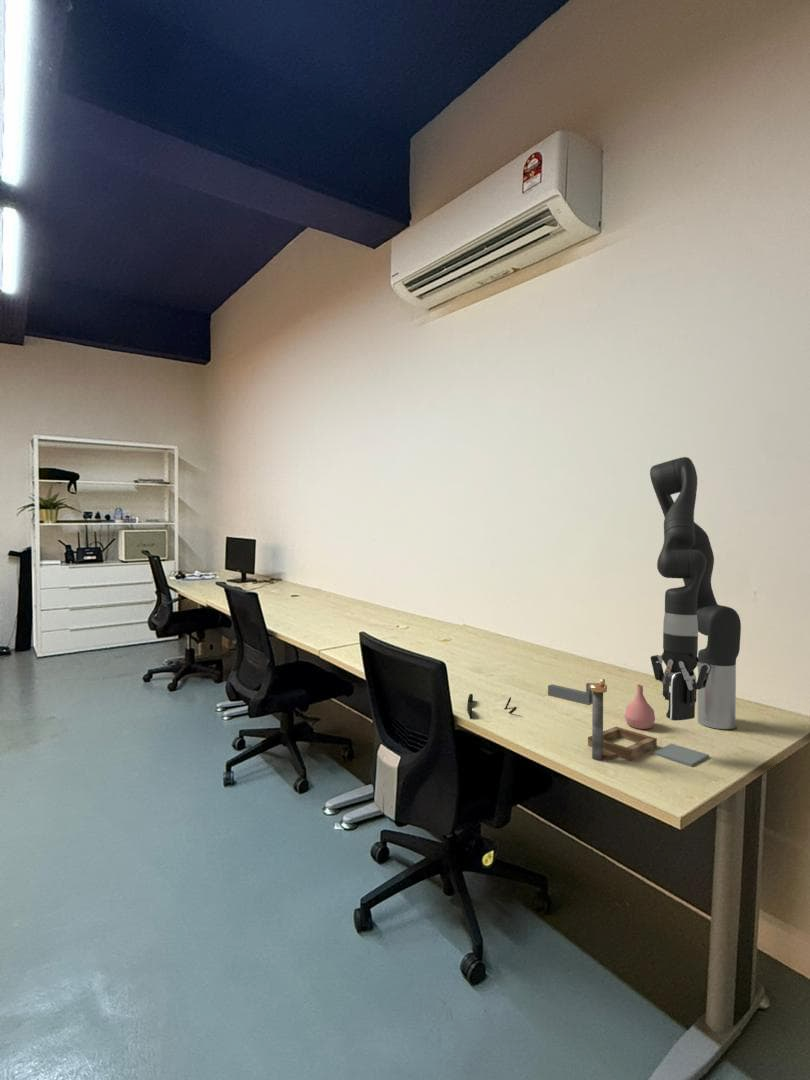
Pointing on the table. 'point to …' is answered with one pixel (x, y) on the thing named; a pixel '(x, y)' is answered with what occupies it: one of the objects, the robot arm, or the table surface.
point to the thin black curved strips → (469, 707)
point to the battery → (678, 697)
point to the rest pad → (681, 754)
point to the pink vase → (640, 712)
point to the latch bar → (577, 692)
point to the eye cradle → (612, 750)
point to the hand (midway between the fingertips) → (679, 701)
